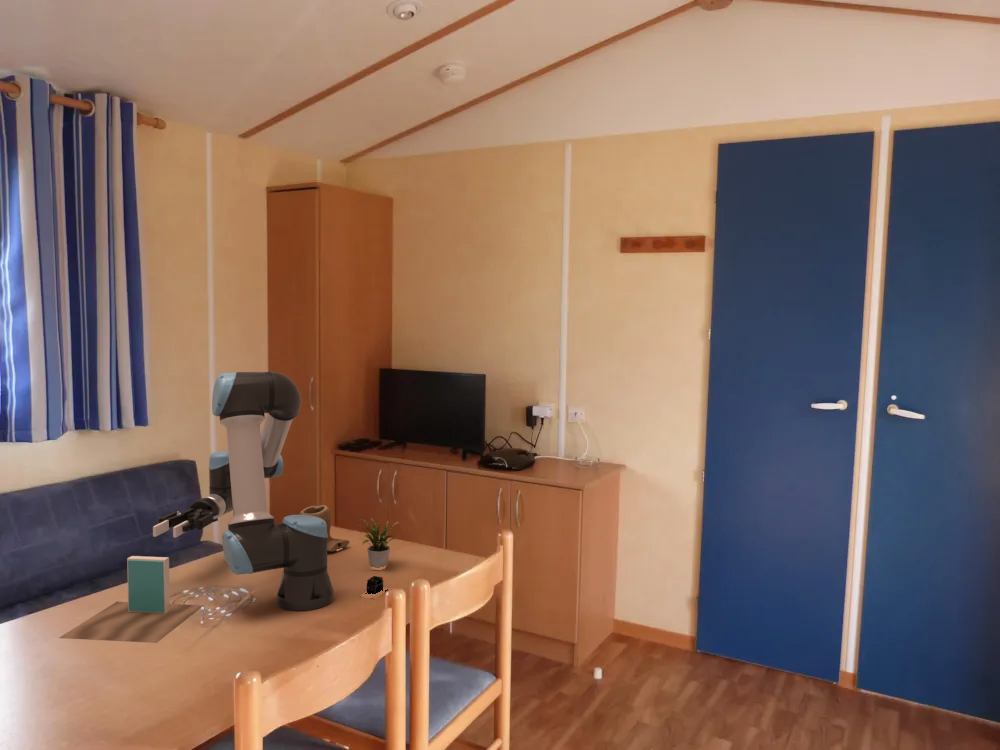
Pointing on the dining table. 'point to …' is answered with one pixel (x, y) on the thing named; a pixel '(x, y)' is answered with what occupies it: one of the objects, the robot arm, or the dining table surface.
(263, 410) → the robot arm
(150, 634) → the board
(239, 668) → the dining table surface
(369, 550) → the house plant
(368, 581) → the black small block
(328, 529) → the tan ankle boot
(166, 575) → the tile
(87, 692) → the dining table surface
